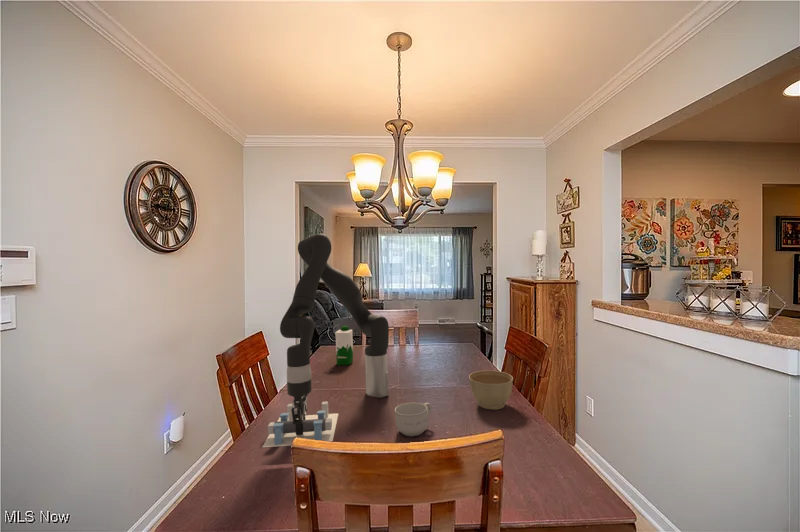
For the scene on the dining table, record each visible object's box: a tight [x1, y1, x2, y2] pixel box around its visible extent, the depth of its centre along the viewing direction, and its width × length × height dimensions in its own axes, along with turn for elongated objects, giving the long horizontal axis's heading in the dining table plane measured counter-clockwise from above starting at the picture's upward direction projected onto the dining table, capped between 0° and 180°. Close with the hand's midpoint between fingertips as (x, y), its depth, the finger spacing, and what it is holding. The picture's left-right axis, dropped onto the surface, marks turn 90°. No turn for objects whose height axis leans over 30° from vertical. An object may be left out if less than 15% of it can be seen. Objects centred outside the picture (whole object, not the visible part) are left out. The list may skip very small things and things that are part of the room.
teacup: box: [394, 401, 432, 437], centre depth 117 cm, size 14×11×8 cm
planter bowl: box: [468, 369, 514, 411], centre depth 136 cm, size 16×16×11 cm
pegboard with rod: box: [261, 400, 339, 449], centre depth 119 cm, size 21×21×6 cm
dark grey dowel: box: [267, 418, 332, 435], centre depth 115 cm, size 20×4×4 cm, turn 95°
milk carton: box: [334, 325, 354, 366], centre depth 197 cm, size 9×9×20 cm
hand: (300, 431), depth 115 cm, fingers closed on dark grey dowel, 3 cm apart
